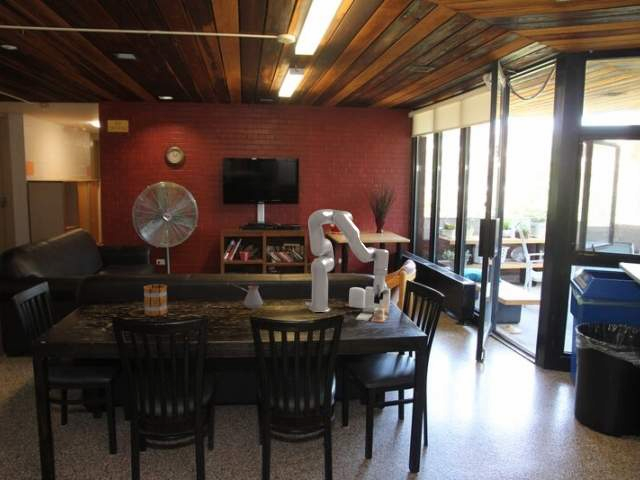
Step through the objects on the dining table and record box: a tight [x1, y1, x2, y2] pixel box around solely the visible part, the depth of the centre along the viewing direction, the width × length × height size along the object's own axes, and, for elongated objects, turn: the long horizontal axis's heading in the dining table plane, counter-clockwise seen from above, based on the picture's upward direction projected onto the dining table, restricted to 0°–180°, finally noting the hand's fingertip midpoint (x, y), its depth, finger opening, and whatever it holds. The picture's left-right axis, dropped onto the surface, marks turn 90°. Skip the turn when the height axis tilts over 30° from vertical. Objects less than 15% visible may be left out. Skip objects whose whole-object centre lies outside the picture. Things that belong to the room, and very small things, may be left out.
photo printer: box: [348, 286, 365, 310], centre depth 303 cm, size 10×4×12 cm, turn 67°
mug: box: [143, 283, 168, 316], centre depth 284 cm, size 20×14×15 cm
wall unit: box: [361, 286, 393, 316], centre depth 292 cm, size 16×8×14 cm, turn 72°
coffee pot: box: [227, 281, 264, 310], centre depth 297 cm, size 21×12×15 cm, turn 87°
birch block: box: [373, 308, 385, 319], centre depth 278 cm, size 5×5×5 cm
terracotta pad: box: [370, 315, 388, 323], centre depth 278 cm, size 7×12×1 cm, turn 162°
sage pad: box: [355, 312, 374, 322], centre depth 281 cm, size 7×12×1 cm, turn 162°
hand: (378, 301), depth 277 cm, fingers open, 9 cm apart
